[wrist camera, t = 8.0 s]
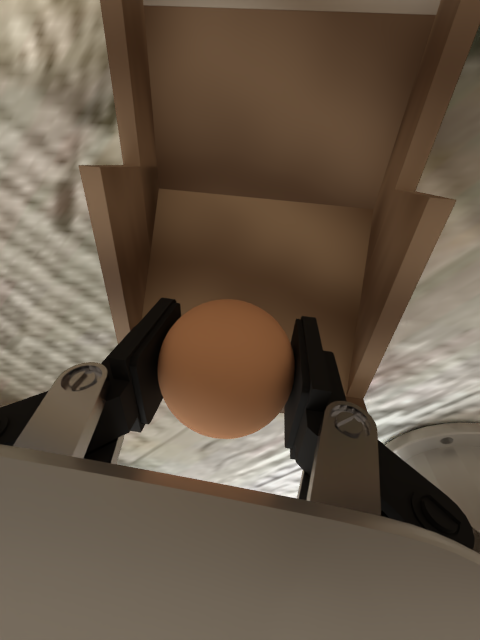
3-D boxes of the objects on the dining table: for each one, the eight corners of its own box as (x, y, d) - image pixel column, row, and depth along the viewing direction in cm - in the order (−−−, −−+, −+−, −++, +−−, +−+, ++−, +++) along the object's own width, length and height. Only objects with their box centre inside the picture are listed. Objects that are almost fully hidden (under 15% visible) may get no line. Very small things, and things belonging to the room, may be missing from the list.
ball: (302, 285, 10) (317, 372, 6) (282, 377, 12) (283, 481, 8) (181, 271, 10) (115, 342, 6) (186, 362, 13) (141, 455, 9)
